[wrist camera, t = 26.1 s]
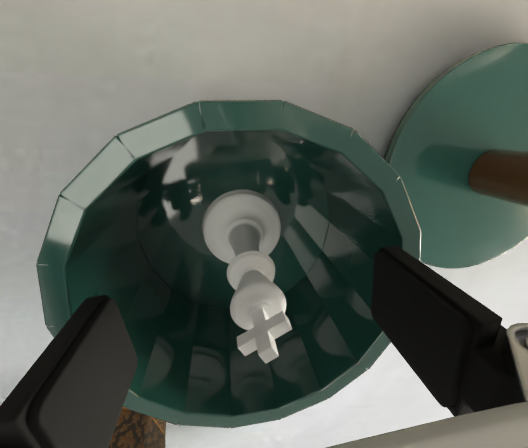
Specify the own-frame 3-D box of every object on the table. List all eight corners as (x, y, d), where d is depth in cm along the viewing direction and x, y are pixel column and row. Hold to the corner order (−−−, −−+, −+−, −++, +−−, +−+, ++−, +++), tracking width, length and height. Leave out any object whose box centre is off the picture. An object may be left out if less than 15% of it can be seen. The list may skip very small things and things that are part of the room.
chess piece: (186, 216, 16) (135, 345, 6) (255, 173, 15) (306, 244, 6) (230, 274, 18) (240, 438, 8) (292, 237, 17) (375, 363, 8)
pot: (359, 132, 16) (479, 137, 9) (312, 313, 21) (364, 420, 13) (123, 90, 14) (1, 46, 6) (128, 309, 18) (62, 439, 10)
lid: (606, 74, 17) (796, 48, 12) (506, 266, 22) (607, 315, 16) (419, 21, 14) (548, -48, 9) (351, 254, 19) (406, 309, 14)
